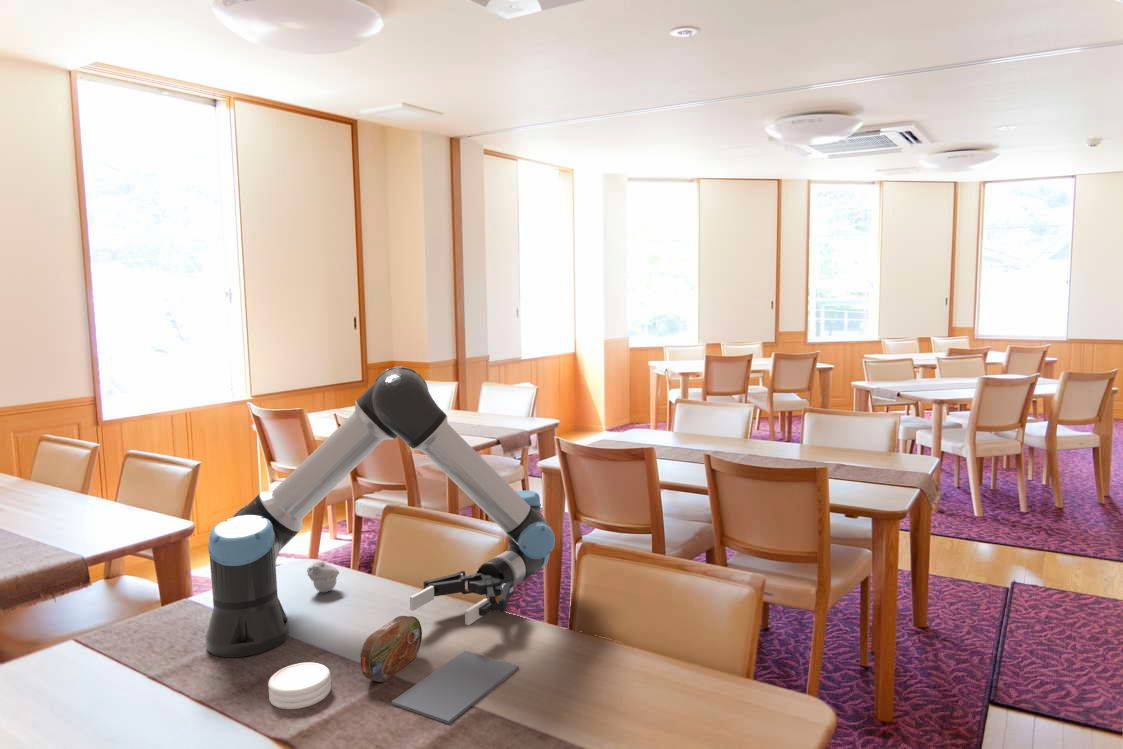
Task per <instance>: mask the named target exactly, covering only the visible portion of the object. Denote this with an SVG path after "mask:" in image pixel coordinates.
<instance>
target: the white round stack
mask: <svg viewBox="0 0 1123 749" xmlns="http://www.w3.org/2000/svg"><path fill="white" fill-rule="evenodd" d="M331 680H332V679H331V671H330V669H329V668H328V667H327V666H325V665H324V664H321V663H318V662H299V663H294V664H291V665H287V666H285V667H283V668H280V669H279V670H278V671H276V672H275V673H273V674H272V675H271V676H270V678H269V679H268V683H267V687H268V695H269V696H268V699H269V702H270V704H271V705H272V706H274V707H276V708H279V709H282V710H299V709H304V708H307V707H310V706H314V705H316V704H318V703H319V702H321V701H323V700H324V699H325V698H327V696H328V695H329V694H330V692H331V690H332V684H331V683H332V682H331Z"/></svg>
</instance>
